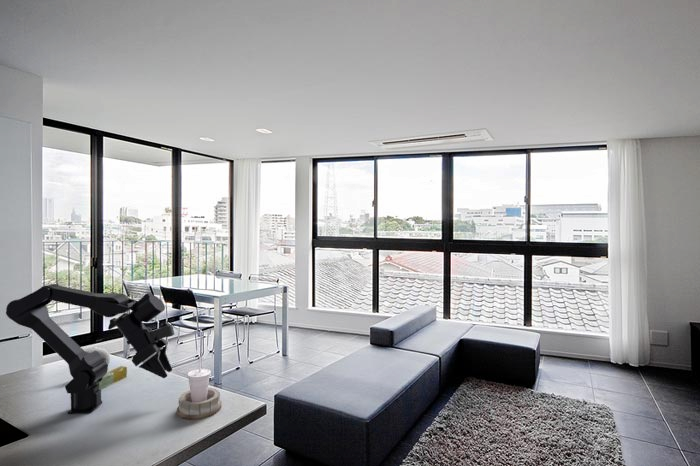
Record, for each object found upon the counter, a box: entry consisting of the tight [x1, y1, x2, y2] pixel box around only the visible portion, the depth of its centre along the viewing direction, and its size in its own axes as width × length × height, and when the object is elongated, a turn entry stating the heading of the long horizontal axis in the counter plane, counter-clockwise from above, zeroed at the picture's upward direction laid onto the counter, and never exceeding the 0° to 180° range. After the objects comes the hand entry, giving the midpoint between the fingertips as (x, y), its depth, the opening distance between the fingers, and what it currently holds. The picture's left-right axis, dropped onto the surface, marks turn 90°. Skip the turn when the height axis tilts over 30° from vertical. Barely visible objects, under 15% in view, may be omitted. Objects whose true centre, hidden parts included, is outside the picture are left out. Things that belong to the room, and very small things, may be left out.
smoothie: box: [186, 356, 212, 402], centre depth 115 cm, size 6×6×14 cm
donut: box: [86, 346, 111, 366], centre depth 139 cm, size 10×4×10 cm, turn 140°
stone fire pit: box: [176, 387, 222, 421], centre depth 115 cm, size 12×12×4 cm
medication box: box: [97, 365, 128, 391], centre depth 133 cm, size 12×3×4 cm, turn 166°
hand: (168, 374), depth 116 cm, fingers open, 9 cm apart
